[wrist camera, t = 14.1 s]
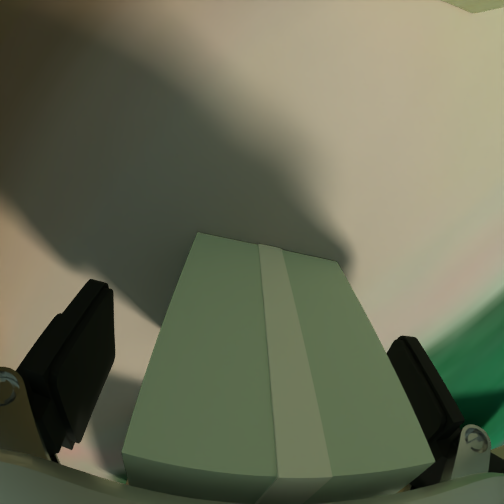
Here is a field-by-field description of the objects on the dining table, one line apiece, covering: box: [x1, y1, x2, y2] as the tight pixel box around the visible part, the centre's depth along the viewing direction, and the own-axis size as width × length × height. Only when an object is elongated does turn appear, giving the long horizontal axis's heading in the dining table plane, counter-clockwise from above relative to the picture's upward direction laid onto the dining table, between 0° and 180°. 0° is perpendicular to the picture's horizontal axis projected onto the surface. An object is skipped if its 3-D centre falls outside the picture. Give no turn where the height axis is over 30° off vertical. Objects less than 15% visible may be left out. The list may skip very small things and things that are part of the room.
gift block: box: [121, 232, 435, 504], centre depth 8 cm, size 5×5×8 cm
